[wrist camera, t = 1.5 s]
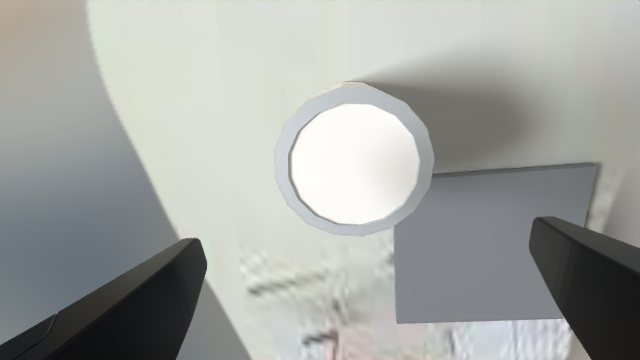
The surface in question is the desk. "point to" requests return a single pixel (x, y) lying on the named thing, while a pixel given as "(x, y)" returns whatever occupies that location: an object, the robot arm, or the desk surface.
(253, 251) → the desk surface
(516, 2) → the desk surface
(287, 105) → the desk surface
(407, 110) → the white faceted cylinder
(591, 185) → the coaster mat
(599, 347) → the robot arm
